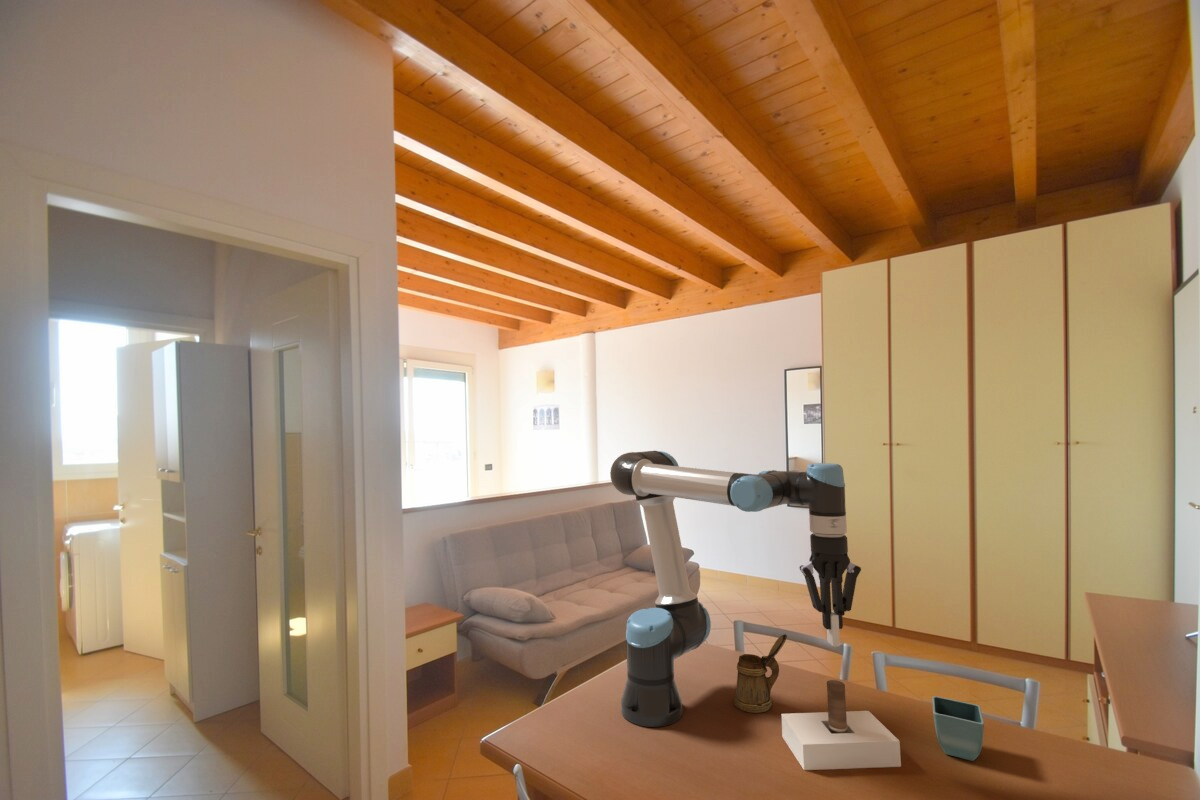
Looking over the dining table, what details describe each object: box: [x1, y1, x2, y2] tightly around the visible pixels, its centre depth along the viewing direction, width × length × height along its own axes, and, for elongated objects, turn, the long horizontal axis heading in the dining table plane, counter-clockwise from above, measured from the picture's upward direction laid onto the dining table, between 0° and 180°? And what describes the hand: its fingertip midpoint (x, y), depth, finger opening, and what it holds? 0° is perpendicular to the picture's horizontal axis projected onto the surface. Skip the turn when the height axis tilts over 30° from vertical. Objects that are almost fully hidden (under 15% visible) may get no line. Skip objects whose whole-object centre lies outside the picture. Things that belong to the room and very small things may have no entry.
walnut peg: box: [826, 679, 847, 734], centre depth 114 cm, size 4×4×14 cm
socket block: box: [780, 710, 902, 771], centre depth 114 cm, size 12×20×5 cm, turn 92°
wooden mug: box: [733, 633, 788, 714], centre depth 134 cm, size 9×14×18 cm, turn 72°
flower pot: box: [931, 695, 985, 762], centre depth 113 cm, size 9×9×9 cm
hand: (833, 643), depth 116 cm, fingers closed
